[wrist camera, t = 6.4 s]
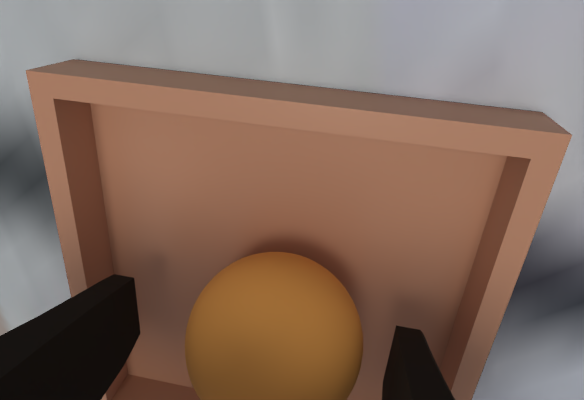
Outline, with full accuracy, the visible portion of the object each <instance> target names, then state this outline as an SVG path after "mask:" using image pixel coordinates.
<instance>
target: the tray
mask: <svg viewBox="0 0 584 400" xmlns="http://www.w3.org/2000/svg"><path fill="white" fill-rule="evenodd" d="M26 74H27V79H28V84H29V89H30V94H31V99H32V104H33V109H34V114H35V119H36V124H37V129H38V134H39V139H40V144H41V149H42V154H43V159H44V164H45V169H46V174H47V179H48V183H49V188H50V193H51V198H52V203H53V208H54V213H55V218H56V223H57V228H58V233H59V238H60V243H61V248H62V253H63V258H64V263H65V268H66V273H67V278H68V283H69V288H70V293H71V298H72V297H74V296H75V295H77V294H79V293H81V292H82V291H84V290H86V289H88V288H89V287H91V286H93V285H95V284H96V283H98V282H100V281H102V280H104V279H105V278H107V277H109V276H111V275H113V274H116V275H122V276H127V277H133V278H134V280H135V289H136V298H137V306H138V315H139V324H140V332H141V333H140V335H139V337H138V339H137V341H136V343H135V345H134V347H133V349H132V351H131V353H130V355H129V357H128V359H127V361H126V363H125V364H124V366H123V368H122V369H121V371H120V372H119V374H118V375H117V377H116V378H115V380H114V381H113V383H112V384H111V386H110V387H109V389H108V390H107V392H106V393H105V394H104V396H103V397H102V399H101V400H200V398H199V397H198V395H197V393H196V391H195V389H194V387H193V385H192V383H191V380H190V377H189V374H188V370H187V365H186V359H185V335H186V328H187V324H188V320H189V317H190V314H191V311H192V309H193V306H194V304H195V302H196V300H197V298H198V297H199V295H200V293H201V292H202V290H203V289H204V288H205V286H206V285H207V284H208V283H209V282H210V281H211V280H212V279H213V277H214V276H215V275H217V274H218V273H219V272H220V271H221V270H223V269H224V268H226V267H227V266H229V265H230V264H232V263H233V262H235V261H237V260H239V259H242V258H244V257H247V256H250V255H254V254H258V253H265V252H286V253H292V254H297V255H300V256H303V257H306V258H309V259H311V260H313V261H315V262H316V263H318V264H320V265H321V266H323V267H324V268H326V269H327V270H329V271H330V272H331V273H332V274H333V275H334V276H335V277H336V278H337V279H338V280H339V281H340V282H341V283H342V285H343V286H344V287H345V288H346V290H347V292H348V293H349V295H350V297H351V298H352V300H353V302H354V304H355V307H356V309H357V312H358V314H359V317H360V322H361V327H362V332H363V356H362V362H361V368H360V372H359V375H358V378H357V380H356V383H355V385H354V387H353V389H352V391H351V393H350V395H349V396H348V398H347V400H382V387H383V378H384V374H385V370H386V366H387V362H388V357H389V353H390V349H391V345H392V341H393V336H394V332H395V328H396V325H397V326H402V327H408V328H413V329H419V330H421V331H422V332H423V334H424V336H425V338H426V341H427V343H428V346H429V348H430V350H431V352H432V355H433V357H434V359H435V361H436V363H437V365H438V367H439V369H440V371H441V374H442V376H443V378H444V380H445V382H446V383H447V385H448V387H449V389H450V391H451V393H452V395H453V397H454V398H455V400H472V397H473V394H474V392H475V389H476V386H477V384H478V381H479V378H480V376H481V373H482V371H483V368H484V365H485V363H486V360H487V357H488V355H489V352H490V350H491V347H492V344H493V342H494V339H495V336H496V334H497V331H498V329H499V326H500V323H501V321H502V318H503V315H504V313H505V310H506V307H507V305H508V302H509V300H510V297H511V294H512V292H513V289H514V286H515V284H516V281H517V279H518V276H519V273H520V271H521V268H522V265H523V263H524V260H525V257H526V255H527V252H528V250H529V247H530V244H531V242H532V239H533V236H534V234H535V231H536V229H537V226H538V223H539V221H540V218H541V215H542V213H543V210H544V208H545V205H546V202H547V200H548V197H549V194H550V192H551V189H552V186H553V184H554V181H555V179H556V176H557V173H558V171H559V168H560V165H561V163H562V160H563V158H564V155H565V152H566V150H567V147H568V144H569V142H570V139H571V136H572V135H571V134H570V133H569V132H567V131H566V130H565V129H564V128H562V127H561V126H560V125H558V124H557V123H556V122H554V121H553V120H552V119H551V118H549V117H548V116H547V115H545V114H544V113H543V112H535V111H526V110H518V109H509V108H500V107H491V106H482V105H473V104H464V103H456V102H447V101H438V100H429V99H420V98H411V97H402V96H393V95H385V94H376V93H367V92H358V91H349V90H340V89H331V88H322V87H314V86H305V85H296V84H287V83H278V82H269V81H260V80H251V79H243V78H234V77H225V76H216V75H207V74H198V73H189V72H181V71H172V70H163V69H154V68H145V67H136V66H127V65H118V64H110V63H101V62H92V61H83V60H74V59H73V60H69V61H64V62H60V63H56V64H51V65H47V66H43V67H38V68H34V69H30V70H26Z"/></svg>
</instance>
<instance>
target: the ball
mask: <svg viewBox="0 0 584 400" xmlns="http://www.w3.org/2000/svg"><path fill="white" fill-rule="evenodd" d="M362 356H363V332H362V327H361V322H360V317H359V314H358V312H357V309H356V307H355V304H354V302H353V300H352V298H351V297H350V295H349V293H348V292H347V290H346V288H345V287H344V286H343V285H342V283H341V282H340V281H339V280H338V279H337V278H336V277H335V276H334V275H333V274H332V273H331V272H330V271H329V270H327V269H326V268H324V267H323V266H321V265H320V264H318V263H316V262H315V261H313V260H311V259H309V258H306V257H303V256H300V255H297V254H292V253H286V252H265V253H258V254H254V255H250V256H247V257H244V258H242V259H239V260H237V261H235V262H233V263H232V264H230V265H229V266H227V267H226V268H224V269H223V270H221V271H220V272H219V273H218V274H217V275H215V276H214V277H213V279H212V280H211V281H210V282H209V283H208V284H207V285H206V286H205V288H204V289H203V290H202V292H201V293H200V295H199V297H198V298H197V300H196V302H195V304H194V306H193V309H192V311H191V314H190V317H189V320H188V324H187V328H186V335H185V359H186V365H187V370H188V374H189V377H190V380H191V383H192V385H193V387H194V389H195V391H196V393H197V395H198V397H199V398H200V400H347V398H348V396H349V395H350V393H351V391H352V389H353V387H354V385H355V383H356V380H357V378H358V375H359V372H360V368H361V362H362Z"/></svg>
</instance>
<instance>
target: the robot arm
mask: <svg viewBox="0 0 584 400" xmlns="http://www.w3.org/2000/svg"><path fill="white" fill-rule="evenodd" d="M140 333H141V332H140V324H139V315H138V306H137V298H136V289H135V280H134V278H133V277H127V276H122V275H116V274H113V275H111V276H109V277H107V278H105V279H104V280H102V281H100V282H98V283H96V284H95V285H93V286H91V287H89V288H88V289H86V290H84V291H82V292H81V293H79V294H77V295H75V296H74V297H72V298H70V299H68V300H66V301H65V302H63V303H61V304H59V305H58V306H56V307H54V308H52V309H50V310H49V311H47V312H45V313H43V314H42V315H40V316H38V317H36V318H34V319H32V320H30V321H28V322H26V323H24V324H22V325H20V326H19V327H17V328H15V329H13V330H11V331H9V332H7V333H5V334H3V335H1V336H0V400H101V399H102V397H103V396H104V394H105V393H106V392H107V390H108V389H109V387H110V386H111V384H112V383H113V381H114V380H115V378H116V377H117V375H118V374H119V372H120V371H121V369H122V368H123V366H124V364H125V363H126V361H127V359H128V357H129V355H130V353H131V351H132V349H133V347H134V345H135V343H136V341H137V339H138V337H139V335H140ZM382 400H455V398H454V397H453V395H452V393H451V391H450V389H449V387H448V385H447V383H446V382H445V380H444V378H443V376H442V374H441V371H440V369H439V367H438V365H437V363H436V361H435V359H434V357H433V355H432V352H431V350H430V348H429V346H428V343H427V341H426V338H425V336H424V334H423V332H422V331H421V330H419V329H413V328H408V327H402V326H397V325H396V328H395V332H394V336H393V341H392V345H391V349H390V353H389V357H388V362H387V366H386V370H385V374H384V378H383V387H382Z"/></svg>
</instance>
